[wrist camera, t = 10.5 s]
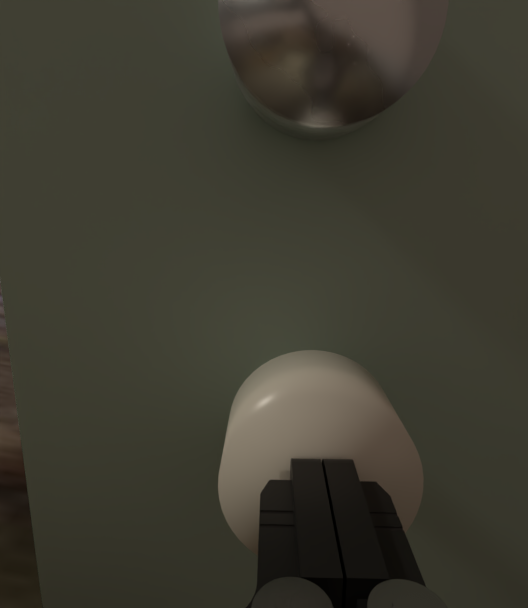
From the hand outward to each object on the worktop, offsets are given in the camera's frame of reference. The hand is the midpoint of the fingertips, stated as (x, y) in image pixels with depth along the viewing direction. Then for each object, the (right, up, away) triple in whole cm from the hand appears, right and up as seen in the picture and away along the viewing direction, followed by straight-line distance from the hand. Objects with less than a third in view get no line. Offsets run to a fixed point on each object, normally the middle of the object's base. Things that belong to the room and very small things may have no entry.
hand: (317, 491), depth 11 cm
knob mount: (0, -7, +10) cm, 12 cm away
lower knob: (0, -1, +4) cm, 4 cm away
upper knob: (0, +10, +3) cm, 10 cm away
